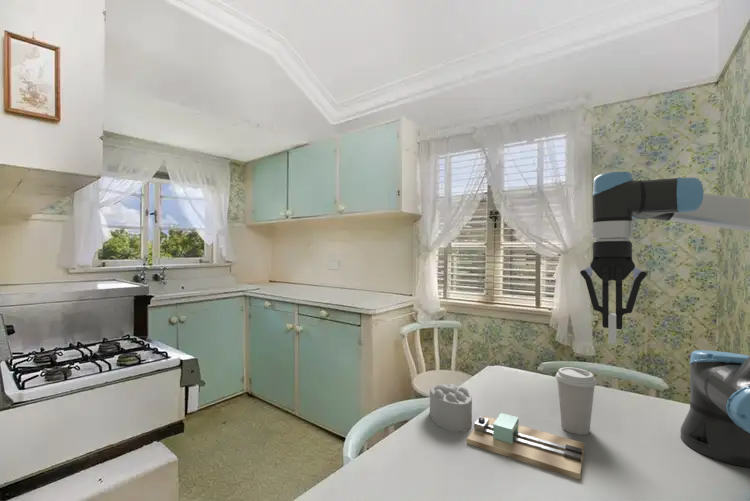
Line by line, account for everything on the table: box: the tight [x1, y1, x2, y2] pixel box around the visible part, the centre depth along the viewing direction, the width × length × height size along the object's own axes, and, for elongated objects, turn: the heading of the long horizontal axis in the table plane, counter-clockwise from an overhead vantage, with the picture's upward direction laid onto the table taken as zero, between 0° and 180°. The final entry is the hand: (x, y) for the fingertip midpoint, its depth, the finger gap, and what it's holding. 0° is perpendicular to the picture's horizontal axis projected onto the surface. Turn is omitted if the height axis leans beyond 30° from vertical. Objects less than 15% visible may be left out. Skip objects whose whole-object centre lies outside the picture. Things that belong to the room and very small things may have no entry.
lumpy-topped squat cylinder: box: [429, 383, 473, 432], centre depth 97 cm, size 10×13×9 cm
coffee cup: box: [554, 366, 598, 436], centre depth 93 cm, size 10×10×15 cm
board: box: [466, 415, 585, 480], centre depth 84 cm, size 24×14×1 cm, turn 56°
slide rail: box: [473, 416, 582, 462], centre depth 84 cm, size 24×4×2 cm, turn 56°
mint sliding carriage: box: [493, 412, 520, 444], centre depth 87 cm, size 4×7×4 cm, turn 146°
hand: (612, 342), depth 80 cm, fingers closed
